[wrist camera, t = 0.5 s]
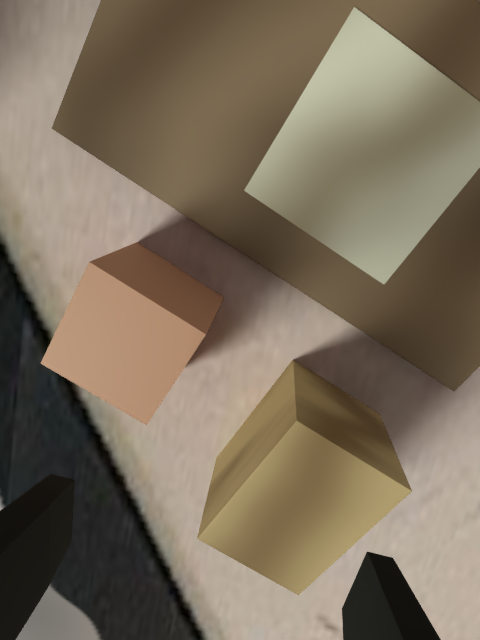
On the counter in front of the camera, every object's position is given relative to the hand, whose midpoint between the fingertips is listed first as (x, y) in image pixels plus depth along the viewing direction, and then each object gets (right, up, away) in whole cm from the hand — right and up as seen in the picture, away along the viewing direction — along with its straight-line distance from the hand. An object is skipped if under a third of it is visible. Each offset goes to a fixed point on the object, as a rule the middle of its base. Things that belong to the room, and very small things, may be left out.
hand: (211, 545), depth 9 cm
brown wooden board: (+5, +12, +5) cm, 14 cm away
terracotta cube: (-3, +6, +8) cm, 11 cm away
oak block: (+3, 0, +10) cm, 11 cm away
